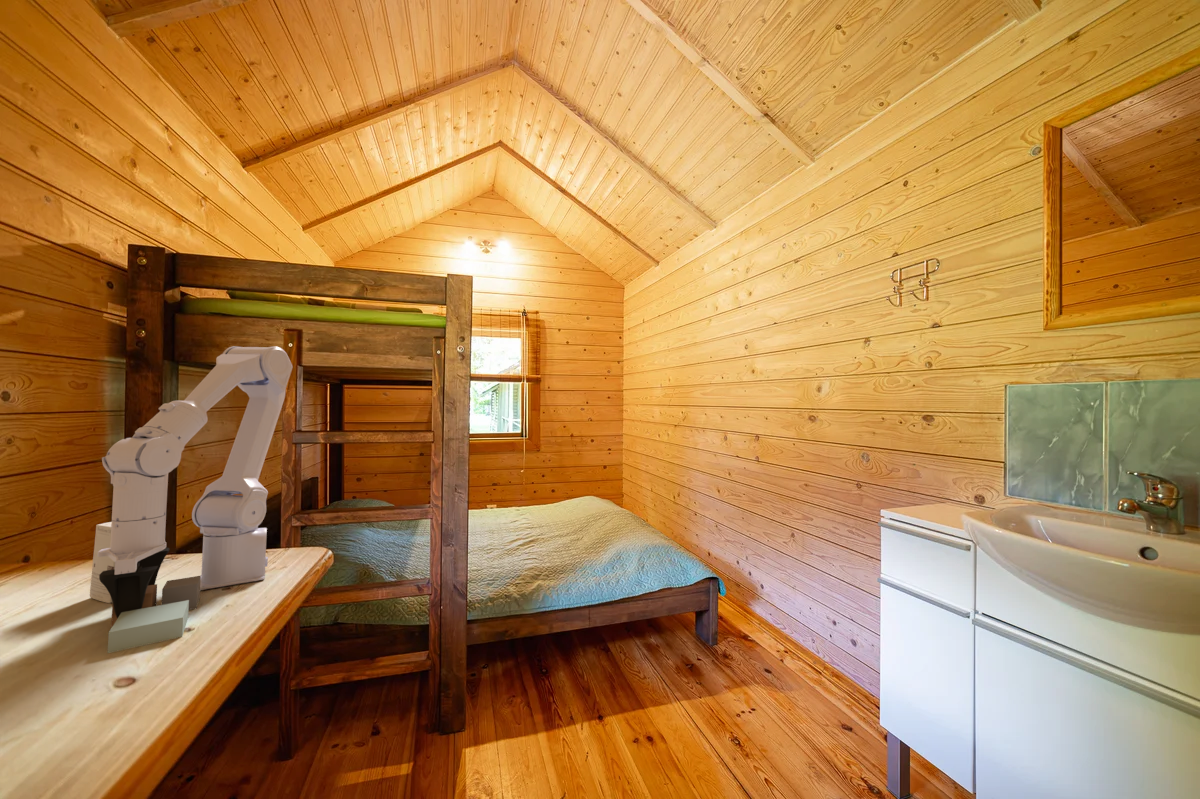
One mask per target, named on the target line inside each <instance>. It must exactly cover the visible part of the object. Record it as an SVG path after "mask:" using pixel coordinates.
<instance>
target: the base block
mask: <svg viewBox="0 0 1200 799" xmlns="http://www.w3.org/2000/svg"><path fill="white" fill-rule="evenodd" d="M188 620H189V600H186V601H181V602H175V603H170V604H164V605H162V604H160V605H156V606H153V607H148V608H142V609H137V610H132V611H126V612H121V614H120V616H119V617H118V619H117V620H116V622H115V623H114V625H113V626H112V627H111V628H110V630H109V631H108V641H107V654H109V653H110V654H111V653H114V652H115V651H116V652H120V651H124V650H128V649H133V648H139V647H143V646H147V645H151V644H156V643H160V641H161V642H166V641H170V640H169V639H171V640H174V639H179V638H178V637H180V638H183V636H184V632H185V629H186V626H187V624H188ZM165 640H166V641H165ZM123 649H124V650H123ZM119 650H120V651H119ZM116 652H115V653H116Z"/></svg>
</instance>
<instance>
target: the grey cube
mask: <svg viewBox="0 0 1200 799" xmlns="http://www.w3.org/2000/svg"><path fill="white" fill-rule="evenodd" d="M200 582H201V575H196V576H189V577H182V578H176V579H171V580H167V581H166V583H164V586H163V587H162V588H161V592H162V593H161V605H164V604H170V603H175V602H181V601H186V600H189V610H196V609H197V608H198V606H197V605H199V602H200V599H201V590H200ZM195 608H196V609H195Z"/></svg>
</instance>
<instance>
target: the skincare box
mask: <svg viewBox="0 0 1200 799" xmlns="http://www.w3.org/2000/svg"><path fill="white" fill-rule="evenodd" d="M111 524H112V521H109V522H103V523H99V524H96V525H95V535H94V536H95V537H94V546H93V557H92V568H91V577H90V578H91V579H90V587H89V588H90V589H89V598H90V599H93V600H96V601H100V602H103V603H107V604H112V599H111V596H110V594H109V592H108V590H107V589H106V587H105V586H104V585H103V584H102V583H101V582H100V579H99V575H100V574H101V573H102V572H103V571H106V570H114V569H115V562H114V561H113V560H112V559H111V558H110V557H108V556H102V557H98V552H99V551H100V550H101V549H106V548H110V543H111Z"/></svg>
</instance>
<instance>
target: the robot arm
mask: <svg viewBox="0 0 1200 799" xmlns="http://www.w3.org/2000/svg"><path fill="white" fill-rule="evenodd" d="M215 360H216V361H215V363H216V365H215V366H214V367H213V368H212V369H211V370H210V371H209V373H208V374H207V375H206V376H205V377H204V378H203V379H202V380H201V382H199V383H198V384H197V386H195V387H194V389H193V390H192V391H191V392H190V393H189V394H188V395H187V397H185V398H184V400H172V401H170V402H167V403H162V405H160V406H159V407H158V410H159V412H157V413H156V414H155V415H154V416H153V417H152V418H151V419H149V421H147V422H146V423H145V424H144V425H143V426H142V427H139V428H137V429H136V430H135V431H134V434H133V436H132V437H126V438H122V439H120V440H119V441H117V442H115V443H114V444H113V445H112V446H111V447H110V448H109V449H108V451H107V452H106V455H105V456H102V457H101V461H102V462H101V463H102V467H103V468H104V469H105V471H107V473H108V474H110V484H111V485H112V486H113V489H112V490H113V492H112V505H111V507H112V508H111V510H112V511H111V512H112V513H111V522H112V524H111V543H110V548H106V549H101V550H100V551H99V552H98V557H102V556H108V557H110V558H111V559H112V560H113V561H114V562H115V569H114V570H106V571H103V572H102V573H101V574H100V575H99V579H100V582H101V583H102V584H103V585H104V586H105V587H106V589H107V590H108V592H109V594H110V596H111V599H112V602H113V606H114V610H115V614H116V617H117V619H118V617H119V616H120V614H121V612H126V611H132V610H137V609H142V606H143V602H144V598H145V593H146V590H147V587H148V585H155V584H156V581H157V578H158V574H159V571H160V568H161V566H162V564H163V562H164V560H165V558H166V556H168V554H169V553H170V547H167V543H168V542H166V524H167V521H166V520H167V507H168V506H167V505H168V504H167V503H168V486H169V483H168V482H169V473H171V472H172V471H173V470H175V469H176V468H178V466H179V465H180V462H181V460H182V453H183V451H184V450H185V446H186V445H187V444H188V442H189V441H190V440H191V439H192V438H193V437H194V436H196V435H197V433H198V432H199V431H200V430H201V429H203V427H204V426H205V425H206V424H207V423H208V414H207V412H208V411H210V409H211V408H213V407H214V406H215V405H216V404H217V403H218V402H219V401H221V400H222V399H224V397H225V396H226V395H228V393H230V392H231V391H232V390H233V389H234V388H236V387H238V388H239V389H240V390H241V391H242V392H244V393H246V394H247V396H248V398H249V399H248V402H247V405H246V408H245V410H244V414H243V415H242V416H243V417H242V419H241V422H240V425H239V426H238V430H237V433H236V436H235V439H234V442H233V444H232V448H231V450H230V453H229V456H228V459H227V461H226V464H225V467H224V470H223V472H222V476H220V477H218V478H217V479H216V480H214V481H213V482H211V483H209V484H208V485H207V486H205V488H204V492H203V494H202V495H201V497H200V498H199V499H198V500H197V501H196V503H195V504H194V506H193V508H192V512H191V519H192V522H193V524H194V525H195V526H196V527H198V528H199V533H200V534H202V536H203V537H202V554H201V555H202V558H201V559H202V560H201V575H200V576H201V582H200V591H203V590H209V589H215V588H221V587H222V588H223V587H227V586H233V585H239V584H247V583H251V582H259V581H262V580H265V576H266V574H265V573H266V567H268V563H269V561H268V558H269V557H268V556H266V554H267V552H266V551H267V536H268V535H267V532H268V531H267V530H268V528H267V527H259V526H260V525H261V524H262V523H263V520H264V519H265V517H266V513H267V498H268V494H269V491H268V489H267V488H265V487H264V485H263V484H262V483H261V482H260V481H259V480H260V476H261V473H262V469H263V466H264V463H265V459H266V456H267V454H268V450H269V448H270V445H271V442H272V438H273V435H274V433H275V429H276V426H277V423H278V421H279V420H278V419H279V417H280V414H281V412H282V408H283V404H284V401H285V398H286V388H287V386H288V382H289V379H290V376H291V374H292V371H293V363H292V362H291V360H290V357H289V356H288V353H287V352H286V351H285V349H283V348H282V347H279V346H268V347H267V346H266V347H263V346H262V347H261V346H260V347H259V346H244V347H243V346H236V345H235V346H234V345H233V346H229V347H227V348H226V349H225V350H224V351H223V352H222V353H221V354H220V355H218V356H217V357H216V358H215Z"/></svg>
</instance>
